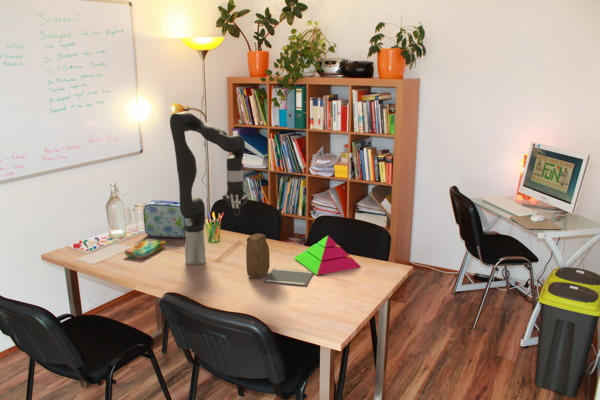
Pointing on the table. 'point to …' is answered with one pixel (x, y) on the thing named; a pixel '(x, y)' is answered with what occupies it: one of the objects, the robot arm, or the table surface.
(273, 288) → the table surface
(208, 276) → the table surface
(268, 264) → the brown rounded elongated part
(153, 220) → the lunch box
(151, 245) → the puzzle game
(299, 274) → the mat
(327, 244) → the pyramid toy
